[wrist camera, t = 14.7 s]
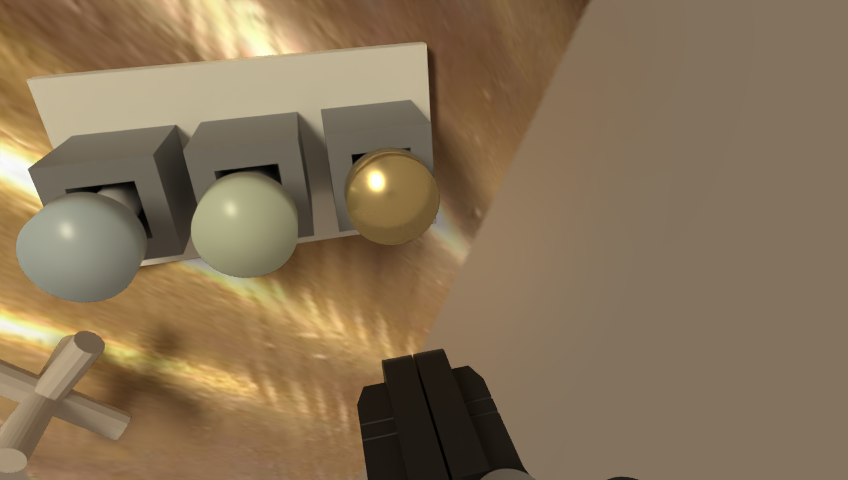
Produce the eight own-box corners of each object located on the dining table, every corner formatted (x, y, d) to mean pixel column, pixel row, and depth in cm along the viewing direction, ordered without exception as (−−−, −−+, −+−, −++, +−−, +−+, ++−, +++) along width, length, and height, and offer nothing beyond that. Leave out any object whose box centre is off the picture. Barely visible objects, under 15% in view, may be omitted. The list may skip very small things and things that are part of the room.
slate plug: (71, 154, 29) (-4, 216, 22) (161, 144, 30) (118, 200, 22) (100, 230, 31) (41, 310, 24) (183, 219, 32) (150, 293, 25)
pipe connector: (180, 330, 39) (147, 436, 30) (104, 420, 41) (53, 543, 32) (37, 257, 34) (-50, 356, 26) (-40, 362, 36) (-146, 486, 28)
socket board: (36, 76, 30) (-31, 104, 24) (422, 41, 33) (450, 58, 27) (107, 263, 35) (67, 324, 29) (431, 216, 39) (457, 262, 33)
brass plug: (330, 120, 32) (341, 164, 25) (406, 112, 33) (437, 152, 26) (340, 191, 34) (352, 251, 27) (411, 182, 35) (441, 237, 28)
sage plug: (206, 139, 30) (178, 193, 23) (290, 129, 31) (288, 179, 24) (225, 213, 32) (205, 284, 25) (302, 203, 33) (305, 269, 26)
